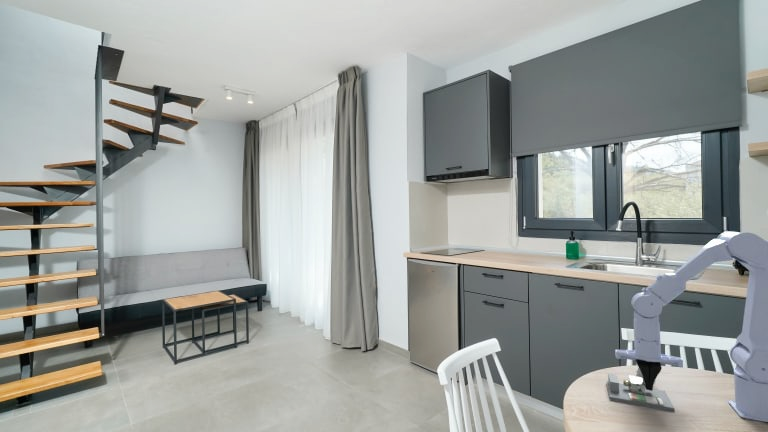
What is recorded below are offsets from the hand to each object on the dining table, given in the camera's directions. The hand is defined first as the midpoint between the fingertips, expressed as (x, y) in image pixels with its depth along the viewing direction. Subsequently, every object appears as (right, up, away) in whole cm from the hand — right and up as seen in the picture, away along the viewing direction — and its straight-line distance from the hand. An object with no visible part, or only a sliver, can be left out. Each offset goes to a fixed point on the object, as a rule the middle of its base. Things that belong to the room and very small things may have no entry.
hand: (648, 388), depth 95 cm
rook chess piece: (+7, -2, +10) cm, 12 cm away
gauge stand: (-3, -2, 0) cm, 4 cm away
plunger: (-4, -1, 0) cm, 4 cm away
